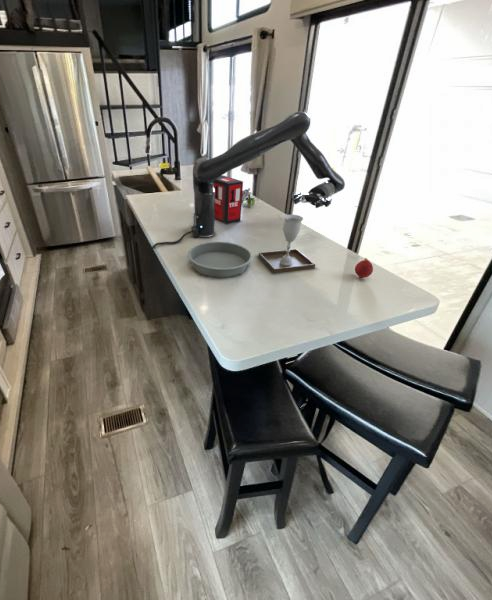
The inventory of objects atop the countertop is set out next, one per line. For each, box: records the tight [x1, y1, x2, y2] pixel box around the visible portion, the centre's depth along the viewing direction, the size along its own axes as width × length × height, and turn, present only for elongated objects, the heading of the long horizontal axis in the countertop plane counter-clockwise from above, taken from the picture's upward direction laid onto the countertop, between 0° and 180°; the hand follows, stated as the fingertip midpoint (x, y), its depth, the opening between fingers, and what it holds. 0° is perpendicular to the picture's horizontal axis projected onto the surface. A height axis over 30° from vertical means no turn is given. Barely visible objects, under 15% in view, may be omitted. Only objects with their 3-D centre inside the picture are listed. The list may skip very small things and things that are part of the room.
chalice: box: [280, 214, 304, 265], centre depth 121 cm, size 7×7×18 cm
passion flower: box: [242, 187, 259, 209], centre depth 189 cm, size 11×11×12 cm
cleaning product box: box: [214, 174, 244, 225], centre depth 165 cm, size 16×9×20 cm, turn 34°
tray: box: [257, 248, 316, 274], centre depth 126 cm, size 17×15×2 cm
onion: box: [354, 257, 374, 280], centre depth 114 cm, size 6×6×8 cm
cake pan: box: [187, 241, 253, 278], centre depth 123 cm, size 25×25×4 cm
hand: (305, 203), depth 122 cm, fingers open, 8 cm apart
